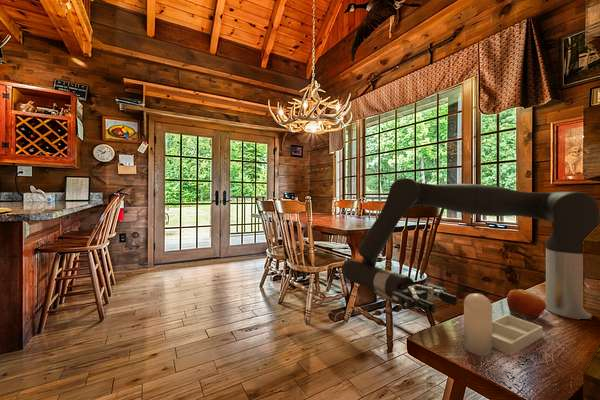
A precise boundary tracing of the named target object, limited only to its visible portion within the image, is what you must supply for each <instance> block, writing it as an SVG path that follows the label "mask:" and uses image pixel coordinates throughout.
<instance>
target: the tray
mask: <svg viewBox="0 0 600 400" xmlns="http://www.w3.org/2000/svg"><path fill="white" fill-rule="evenodd" d="M543 329H544V328H543V326H542V325H538V324H536V323H533V322H530V321H528V320H525V321H524V319H521V318H519V317H515V316H513V315H511V314H510V315H509V314H505V315H502V316H500V317H498V318H496V319H494V320H493V319H492V349H493V348H494V349H496V350H497V351H500V352H503V353H505V354H507V355H509V356H512V355H514V354H516V353H518V352H520V351H521V350H522V349H524V348H527V347H528V346H530V345H532V344H533V343H534V342H537V341H538V340H540V339H542V338H543V337H544V336H543V332H544V330H543Z"/></svg>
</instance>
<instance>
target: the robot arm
mask: <svg viewBox="0 0 600 400" xmlns="http://www.w3.org/2000/svg"><path fill="white" fill-rule="evenodd" d="M412 206H417V207H423V206H424V207H433V208H437V209H443V210H447V211H451V212H456V213H461V214H467V215H468V214H469V215H475V216H477V215H478V216H483V217H484V216H485V217H486V216H488V217H507V216H508V217H513V216H515V217H525V218H532V219H537V220H542V221H546V222H551V223H552V232H551V234H550V236H549V237H547V238H546V239H545V304H546V308H545V310H547V311H549V312H551V313H552V314H554V315H558V316H561V317H564V318H569V319H572V320H573V319H574V320H580V319H589V318H590V317H591V314H590V313H588V312H586V311H585V310H584V308H583V241H584V239H585V238H586V237H587V236H588V235H589V234H590V233H591V232H592V231H593V230H594V229H595V228H596V227H597V226H598V225H599V226H600V205H599V203H598V202H597V200H596V199H595V198H594V197H593V196H592V195H590V194H589V193H586V192H582V191H555V192H554V191H553V192H552V191H551V192H550V191H549V192H547V191H546V192H545V191H544V192H539V191H538V192H536V191H533V192H531V191H530V192H529V191H520V190H515V189H511V188H508V187H507V188H506V187H500V186H496V185H489V184H480V183H479V184H478V183H476V184H475V183H451V184H450V183H447V184H433V183H426V182H419V181H416V180H414V179H412V178H408V177H401V178H398V179H396V180H394V182H392V184H391V185H390V187H389V192H388V194H387V197H386V200H385V203H384V205H383V207H382V210H381V211H380V213H379V215H378V216H377V218H376V220H375V221H374V223H372V226H370V229H369V230H368V231H367V233H366V234H365V237H364V238H363V240H362V241H361V243H360V245H359V247H358V248H357V252H358V255H359V256H361V257H362V260H361V261H359V260H355V259H348V260H346V261H345V262H343V263H342V265H341V274H342V276H343V277H344V278H345V279H346V280H348V281H349V282H353V283H355V284H359V285H363V286H364V287H367V288H368V289H370V290H372V291H375V292H377V293H379V294H381V295H382V296H384V297H387V298H389V299H391V300H392V302H393V303H395V304H397V305H399V306H401V307H402V308H405V309H407V310H412V309H417V310H418V309H419V310H423V311H426V312H428V313H430V314H434V313H435V312H436V305H435V304H434V303H433V302H434V301H441V302H444V303H446V304H449V305H452V306H455V307H456V306H457V305H458V304H459V303H458V302H459V301H458V297H457V296H456V295H453V294H451V293H448V292H447V289H446V288H445V287H441V286H439V285H435V284H432V283H427V282H425V283H424V285H422V284H416V283H415V282H414V280H413V278H411V277H410V276H408V275H405V274H402V273H399V272H396V271H392V270H387V269H383V268H380V267H377V266H376V264H377V261H378V258H379V257H380V255H381V254H382V252H383V250H384V248H385V246H386V244H387V243H388V241H389V239H390V238H391V235H392V233H393V232H394V229H395V228H396V226H397V225H398V223H399V221H401V219H402V217H403V216H404V215H405V213H406V212H407V211H408V210H409V209H410V208H411V207H412Z"/></svg>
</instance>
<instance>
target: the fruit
mask: <svg viewBox="0 0 600 400" xmlns="http://www.w3.org/2000/svg"><path fill="white" fill-rule="evenodd" d="M506 303H507V306H508V307H507V308H508V310H509V314H510V315H511V314H514V315H518V316H520V317H521V318H522V319H523V320H524V321H526V319H537V318H538V317H540V315H541V314H543V312H544V311H545V310H546V301H545V300H543V299H542V298H541V297H540V296H539V295H537V294H534V293H532V292H530V291H527V290H525V289H521V288H519V289H511V290H509V292H508V293H507V296H506Z"/></svg>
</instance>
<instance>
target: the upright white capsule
mask: <svg viewBox="0 0 600 400" xmlns="http://www.w3.org/2000/svg"><path fill="white" fill-rule="evenodd" d="M492 321H493V305H492V302H491V301H490V299H489V298H488V297H486V295H483V294H481V293H477V292H475V293H470V294H468V295H466V297H465V298H464V300H463V347H464V349H465V350H466V351H468V352H469V353H471V354H473V355H476V356H480V357H489V356H492V355H493V347H492Z"/></svg>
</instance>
